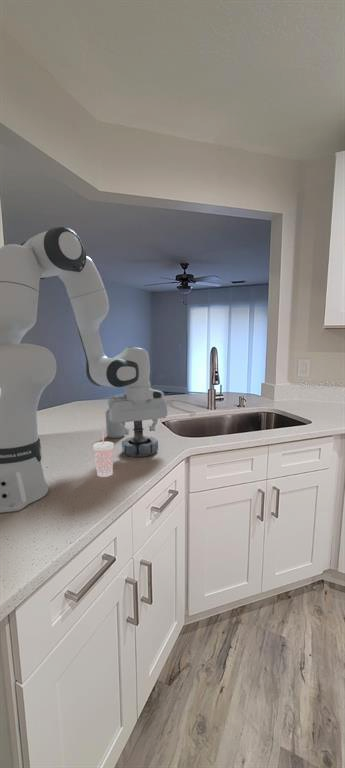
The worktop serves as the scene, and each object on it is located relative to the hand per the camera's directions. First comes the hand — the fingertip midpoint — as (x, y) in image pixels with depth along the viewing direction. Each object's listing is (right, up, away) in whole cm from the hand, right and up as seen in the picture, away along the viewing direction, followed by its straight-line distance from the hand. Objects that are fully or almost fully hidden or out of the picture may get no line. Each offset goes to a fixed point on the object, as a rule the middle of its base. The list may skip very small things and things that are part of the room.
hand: (139, 432), depth 119 cm
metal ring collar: (0, -7, +1) cm, 7 cm away
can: (-12, -5, +21) cm, 24 cm away
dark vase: (0, -6, +1) cm, 6 cm away
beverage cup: (-9, -10, -18) cm, 22 cm away
